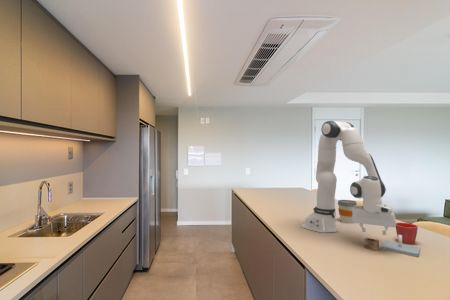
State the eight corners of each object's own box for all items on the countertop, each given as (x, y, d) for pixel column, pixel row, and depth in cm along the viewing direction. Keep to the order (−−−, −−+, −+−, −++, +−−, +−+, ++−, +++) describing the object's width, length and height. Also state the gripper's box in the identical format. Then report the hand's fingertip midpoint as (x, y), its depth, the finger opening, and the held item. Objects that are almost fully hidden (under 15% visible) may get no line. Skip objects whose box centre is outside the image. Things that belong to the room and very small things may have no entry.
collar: (363, 247, 136) (363, 240, 136) (366, 244, 141) (366, 237, 141) (376, 250, 132) (376, 242, 132) (378, 247, 137) (378, 239, 137)
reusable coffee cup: (360, 224, 183) (360, 203, 183) (342, 223, 183) (342, 202, 183) (351, 219, 195) (351, 199, 196) (335, 219, 196) (335, 199, 196)
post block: (380, 248, 135) (380, 234, 135) (384, 243, 144) (384, 229, 144) (418, 257, 124) (418, 241, 124) (420, 250, 133) (420, 235, 134)
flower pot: (390, 239, 149) (390, 223, 150) (403, 237, 153) (403, 221, 153) (409, 246, 139) (409, 228, 140) (422, 243, 143) (422, 226, 143)
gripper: (349, 206, 141) (351, 231, 140) (394, 209, 128) (395, 237, 127) (352, 204, 145) (353, 228, 145) (395, 207, 133) (397, 234, 132)
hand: (373, 233), depth 136 cm, fingers open, 8 cm apart
